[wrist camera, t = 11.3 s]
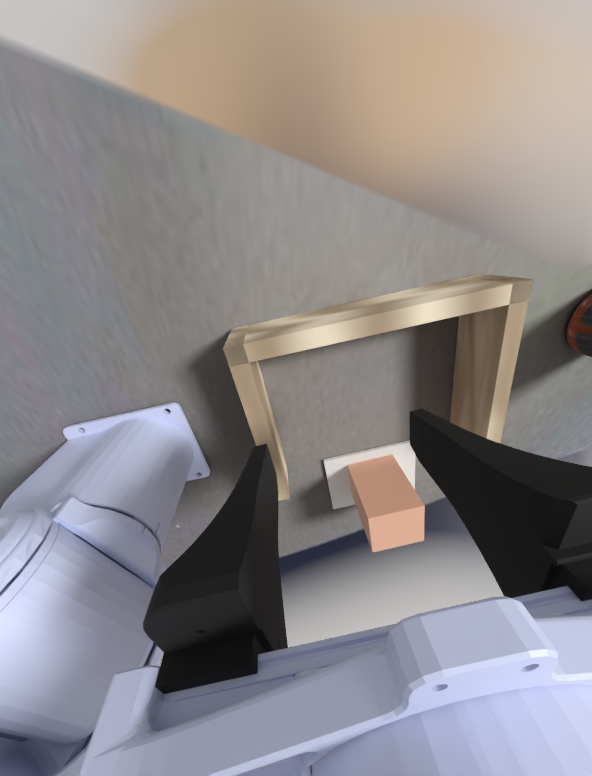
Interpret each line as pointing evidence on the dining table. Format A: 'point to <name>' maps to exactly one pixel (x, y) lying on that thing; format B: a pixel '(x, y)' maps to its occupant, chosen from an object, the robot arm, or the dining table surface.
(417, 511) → the block
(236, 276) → the dining table surface
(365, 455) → the pad
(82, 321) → the dining table surface
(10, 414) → the dining table surface
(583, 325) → the supplement bottle
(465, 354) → the wooden u-shaped frame
